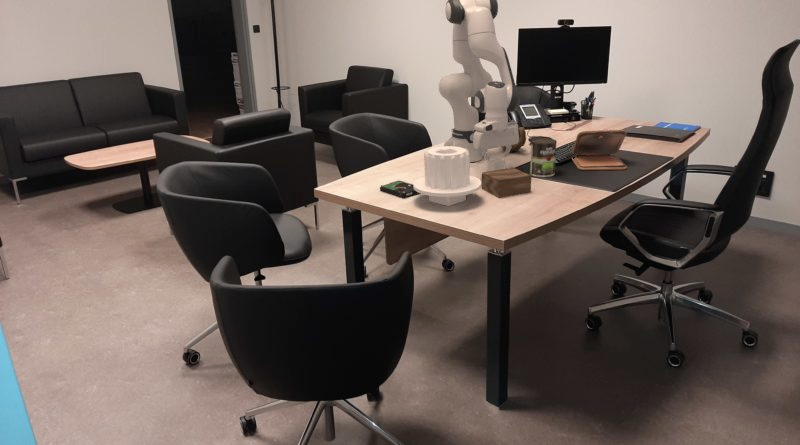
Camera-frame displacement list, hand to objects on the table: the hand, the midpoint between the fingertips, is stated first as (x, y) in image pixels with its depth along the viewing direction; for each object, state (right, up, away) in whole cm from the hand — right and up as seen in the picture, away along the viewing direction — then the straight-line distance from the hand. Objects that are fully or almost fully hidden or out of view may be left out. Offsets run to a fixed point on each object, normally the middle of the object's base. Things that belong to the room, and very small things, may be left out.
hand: (496, 158), depth 253 cm
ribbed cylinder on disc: (-21, -18, -19) cm, 34 cm away
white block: (0, -8, +4) cm, 9 cm away
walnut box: (+2, -14, -11) cm, 18 cm away
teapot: (+14, +8, +45) cm, 48 cm away
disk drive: (-38, -15, -7) cm, 42 cm away
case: (+47, -1, +19) cm, 50 cm away
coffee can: (+20, -6, +8) cm, 23 cm away
